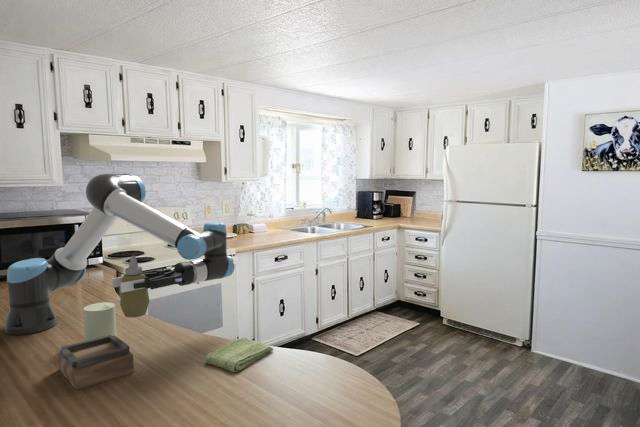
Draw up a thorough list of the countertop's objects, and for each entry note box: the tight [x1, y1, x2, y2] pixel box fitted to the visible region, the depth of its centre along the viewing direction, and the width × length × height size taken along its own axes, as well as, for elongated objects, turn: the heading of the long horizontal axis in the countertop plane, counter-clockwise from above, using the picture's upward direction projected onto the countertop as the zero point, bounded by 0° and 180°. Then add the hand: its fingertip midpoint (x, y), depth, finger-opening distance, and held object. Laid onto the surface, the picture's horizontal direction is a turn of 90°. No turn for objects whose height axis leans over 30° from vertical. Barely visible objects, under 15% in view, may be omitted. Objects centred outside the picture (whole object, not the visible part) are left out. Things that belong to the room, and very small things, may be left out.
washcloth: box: [204, 337, 274, 373], centre depth 125 cm, size 13×18×3 cm
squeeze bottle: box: [119, 255, 150, 319], centre depth 127 cm, size 8×8×18 cm
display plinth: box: [57, 335, 135, 391], centre depth 116 cm, size 16×14×6 cm
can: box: [83, 301, 118, 341], centre depth 136 cm, size 9×9×12 cm
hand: (116, 285), depth 123 cm, fingers closed on squeeze bottle, 6 cm apart
